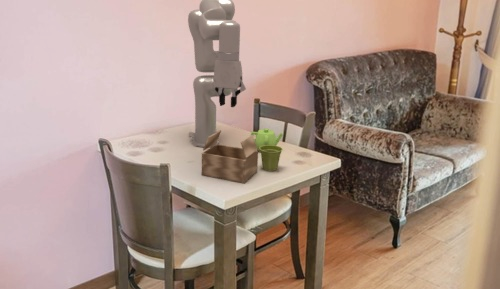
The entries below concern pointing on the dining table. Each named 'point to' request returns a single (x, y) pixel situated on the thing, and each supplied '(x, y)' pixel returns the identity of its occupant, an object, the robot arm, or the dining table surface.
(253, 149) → the flap
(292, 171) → the dining table surface
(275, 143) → the teapot
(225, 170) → the carton
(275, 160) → the plant pot
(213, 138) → the flap
